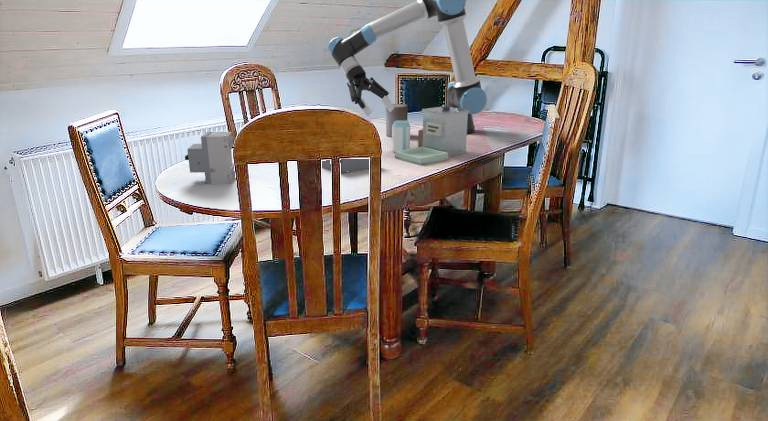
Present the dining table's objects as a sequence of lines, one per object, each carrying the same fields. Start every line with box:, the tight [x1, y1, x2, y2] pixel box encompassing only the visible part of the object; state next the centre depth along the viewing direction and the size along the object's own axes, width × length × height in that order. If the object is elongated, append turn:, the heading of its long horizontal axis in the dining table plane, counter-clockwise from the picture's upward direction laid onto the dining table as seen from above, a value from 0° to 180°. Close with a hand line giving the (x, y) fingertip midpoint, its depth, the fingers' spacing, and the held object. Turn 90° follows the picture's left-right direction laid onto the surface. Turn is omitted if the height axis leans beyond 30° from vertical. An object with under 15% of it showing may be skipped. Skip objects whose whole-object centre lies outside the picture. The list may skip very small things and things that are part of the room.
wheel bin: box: [321, 159, 370, 174], centre depth 191 cm, size 16×14×6 cm
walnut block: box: [417, 128, 423, 147], centre depth 221 cm, size 5×5×7 cm
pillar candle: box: [385, 101, 408, 138], centre depth 243 cm, size 10×10×15 cm
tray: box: [394, 146, 449, 166], centre depth 202 cm, size 14×14×2 cm
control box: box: [421, 104, 470, 158], centre depth 210 cm, size 13×13×18 cm
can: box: [391, 120, 411, 153], centre depth 212 cm, size 7×7×12 cm
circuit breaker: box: [184, 131, 236, 185], centre depth 171 cm, size 8×14×15 cm, turn 95°
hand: (381, 112), depth 215 cm, fingers open, 13 cm apart
